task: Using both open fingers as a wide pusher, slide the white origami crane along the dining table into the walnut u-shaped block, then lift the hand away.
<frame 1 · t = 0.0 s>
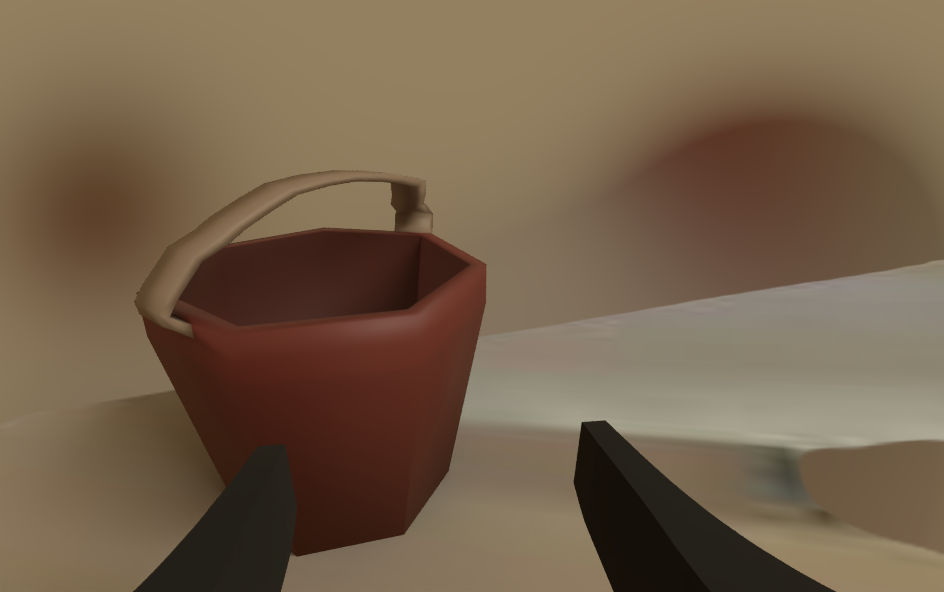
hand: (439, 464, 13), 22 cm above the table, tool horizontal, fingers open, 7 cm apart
bucket: (353, 477, 44), on the table
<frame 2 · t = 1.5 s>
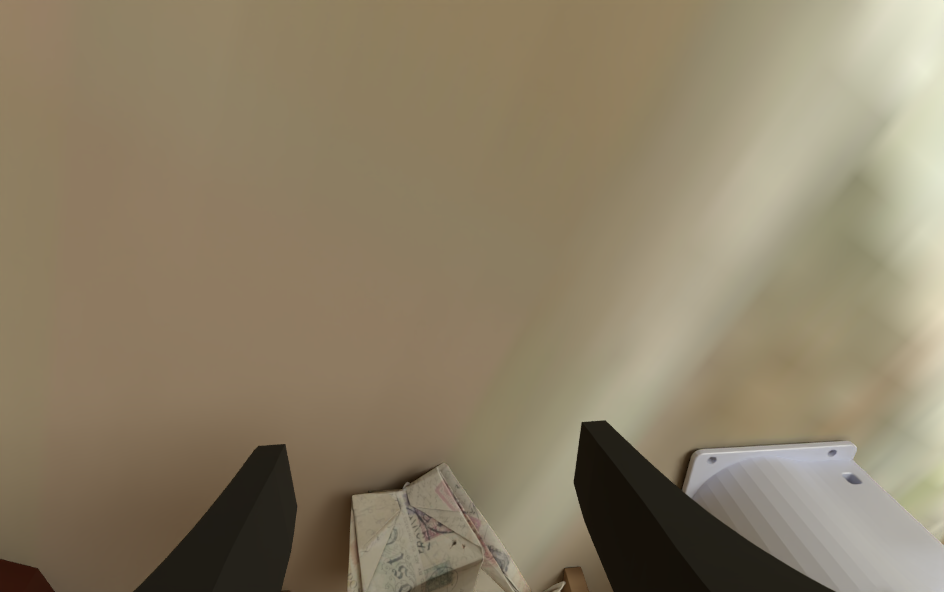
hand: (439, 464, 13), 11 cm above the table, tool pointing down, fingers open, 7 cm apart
origami crane: (445, 516, 29), on the table
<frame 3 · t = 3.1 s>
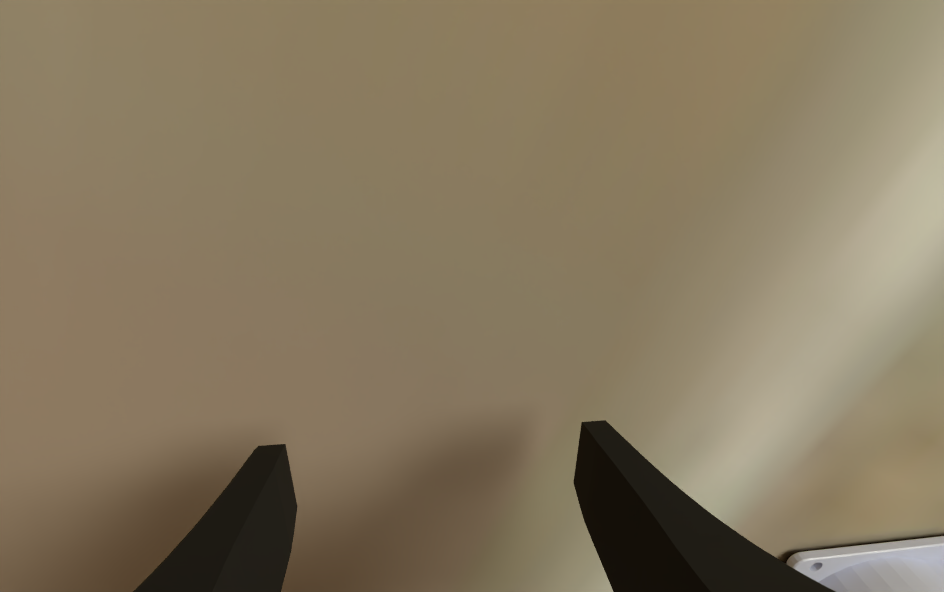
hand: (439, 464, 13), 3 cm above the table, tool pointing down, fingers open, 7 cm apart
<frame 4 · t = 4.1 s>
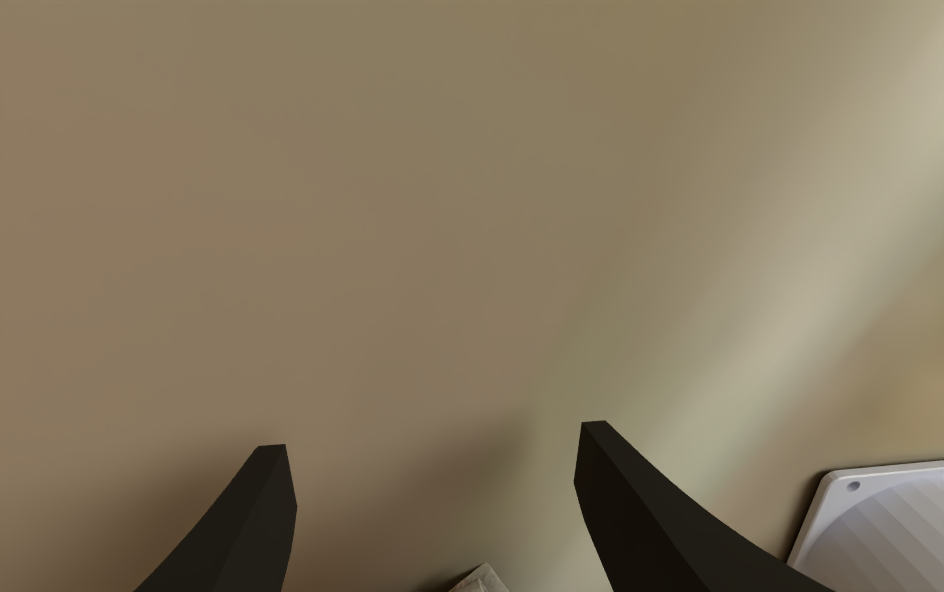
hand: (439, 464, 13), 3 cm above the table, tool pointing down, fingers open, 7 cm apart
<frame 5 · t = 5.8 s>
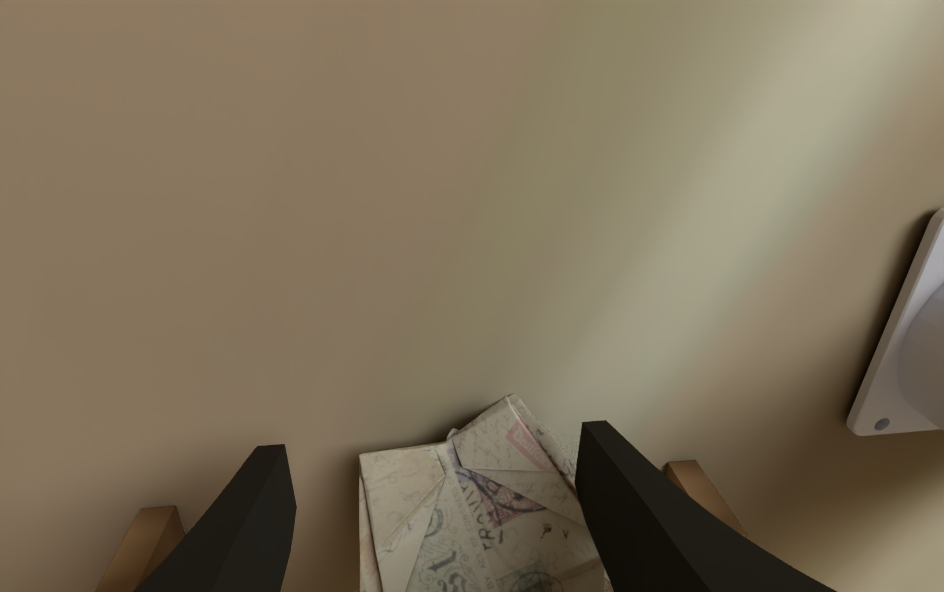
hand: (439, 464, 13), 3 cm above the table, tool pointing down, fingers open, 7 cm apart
origami crane: (512, 486, 18), on the table
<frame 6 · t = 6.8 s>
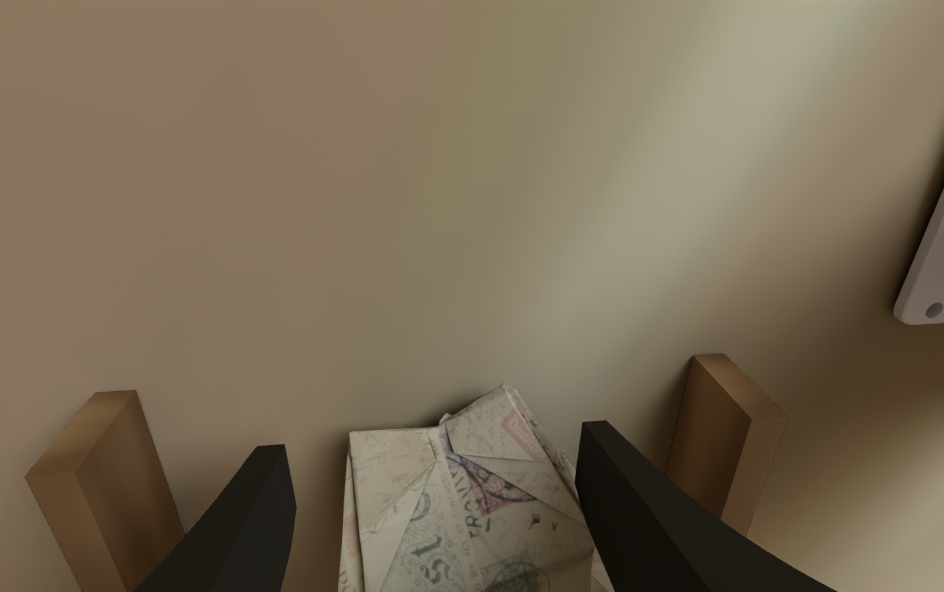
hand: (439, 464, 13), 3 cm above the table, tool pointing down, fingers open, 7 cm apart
origami crane: (497, 479, 18), on the table, touching gripper
walnut u-shaped block: (436, 538, 18), on the table
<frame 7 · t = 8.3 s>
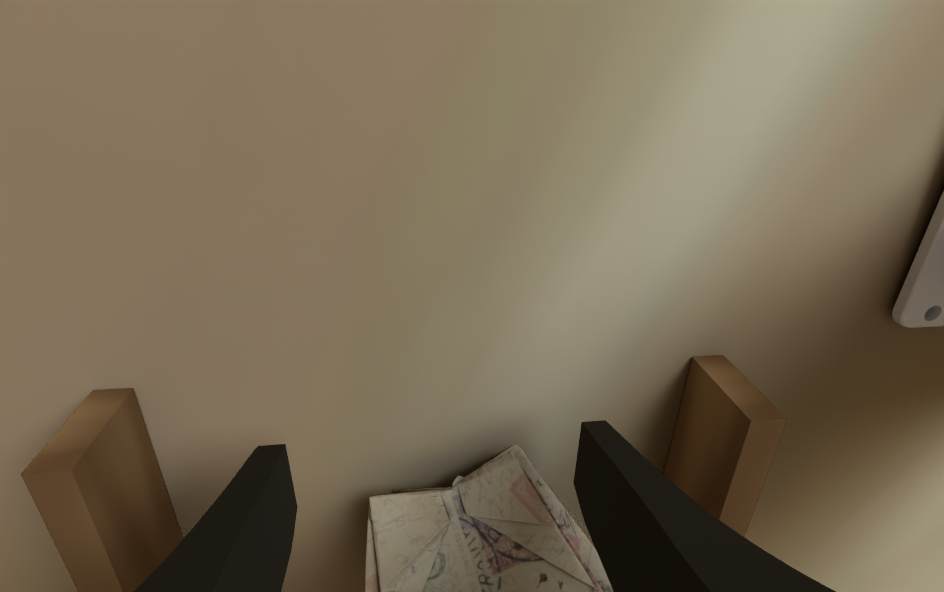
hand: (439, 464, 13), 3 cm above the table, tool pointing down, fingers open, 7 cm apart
origami crane: (505, 528, 19), on the table
walnut u-shaped block: (433, 539, 18), on the table
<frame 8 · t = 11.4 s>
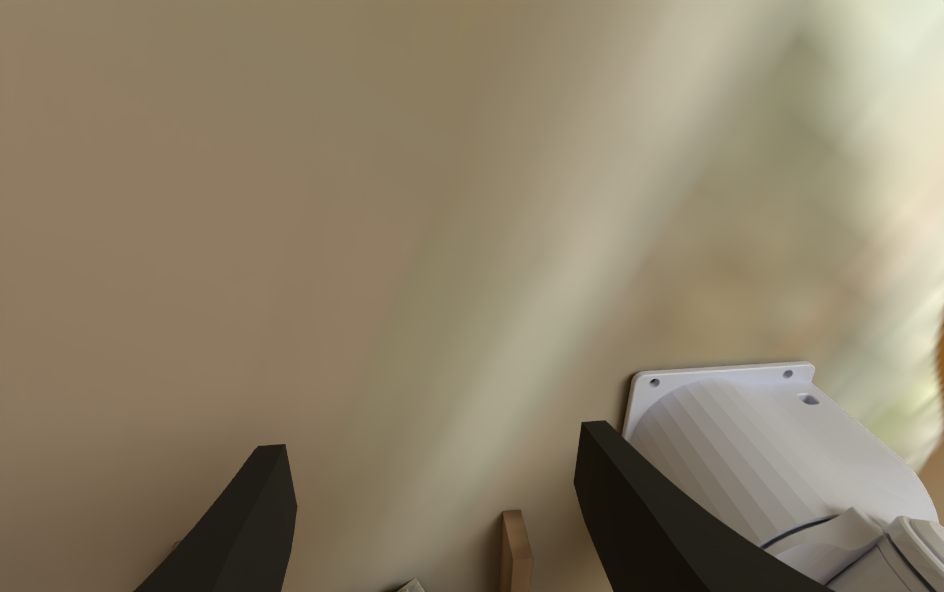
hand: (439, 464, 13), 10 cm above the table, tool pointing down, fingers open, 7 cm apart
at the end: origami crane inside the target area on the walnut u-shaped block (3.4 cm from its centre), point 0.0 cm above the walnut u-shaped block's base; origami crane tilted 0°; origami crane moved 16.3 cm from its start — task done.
